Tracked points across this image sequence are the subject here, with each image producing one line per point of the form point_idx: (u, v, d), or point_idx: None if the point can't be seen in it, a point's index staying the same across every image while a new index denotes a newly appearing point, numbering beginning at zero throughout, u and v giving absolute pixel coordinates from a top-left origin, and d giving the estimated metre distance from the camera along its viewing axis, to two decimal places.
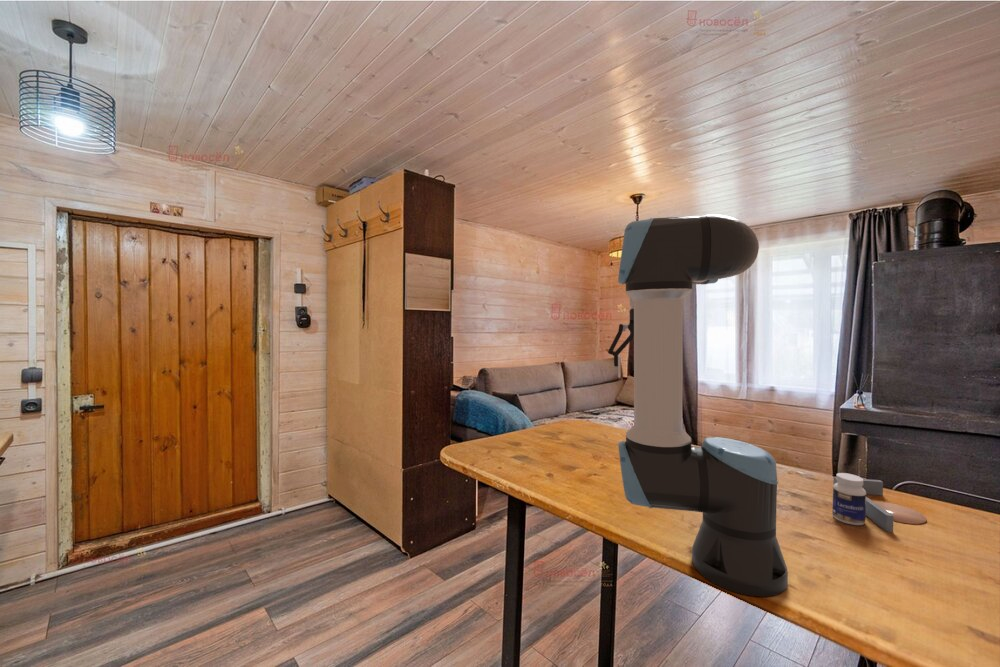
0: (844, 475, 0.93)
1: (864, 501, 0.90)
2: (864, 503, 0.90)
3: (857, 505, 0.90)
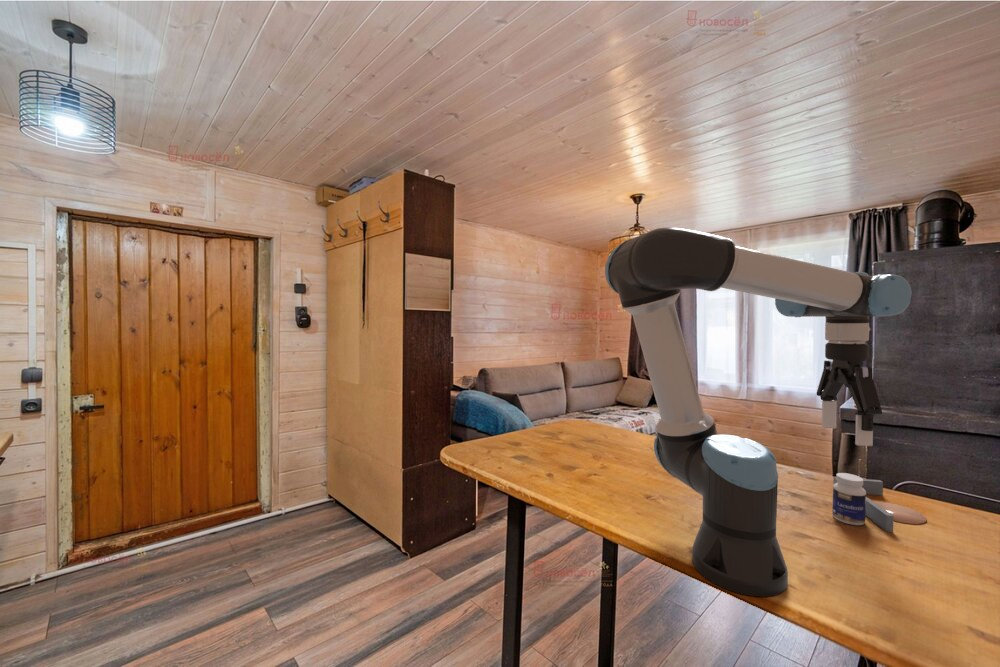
0: (844, 475, 0.93)
1: (864, 501, 0.90)
2: (864, 503, 0.90)
3: (857, 505, 0.90)
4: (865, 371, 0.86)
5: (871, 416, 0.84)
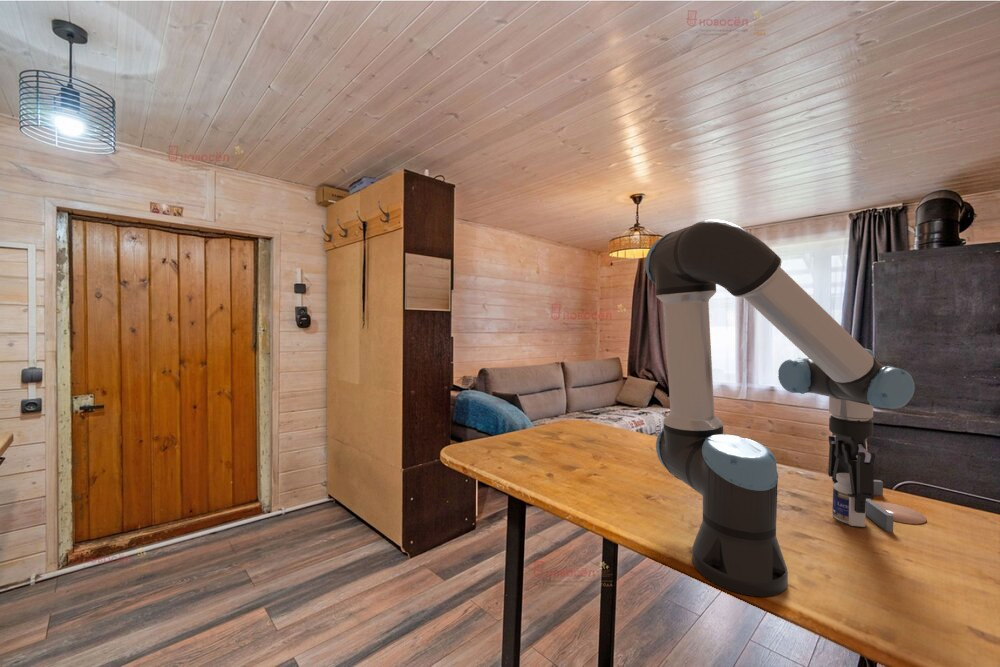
0: (844, 475, 0.93)
1: None
2: None
3: None
4: (867, 458, 0.86)
5: (863, 499, 0.88)
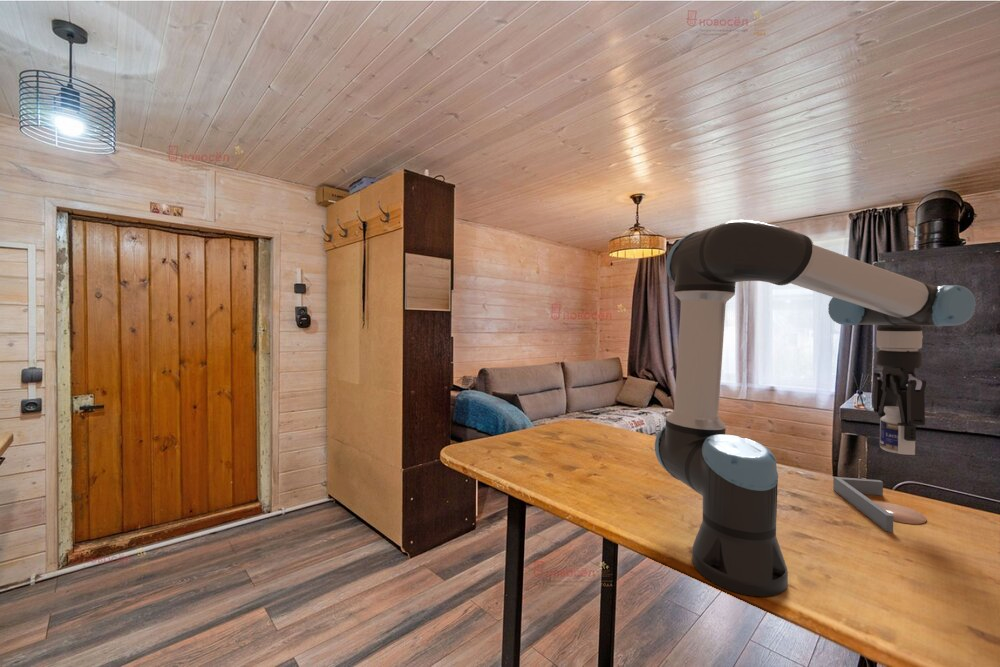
0: (892, 407, 0.95)
1: None
2: None
3: None
4: (918, 385, 0.88)
5: (914, 427, 0.90)
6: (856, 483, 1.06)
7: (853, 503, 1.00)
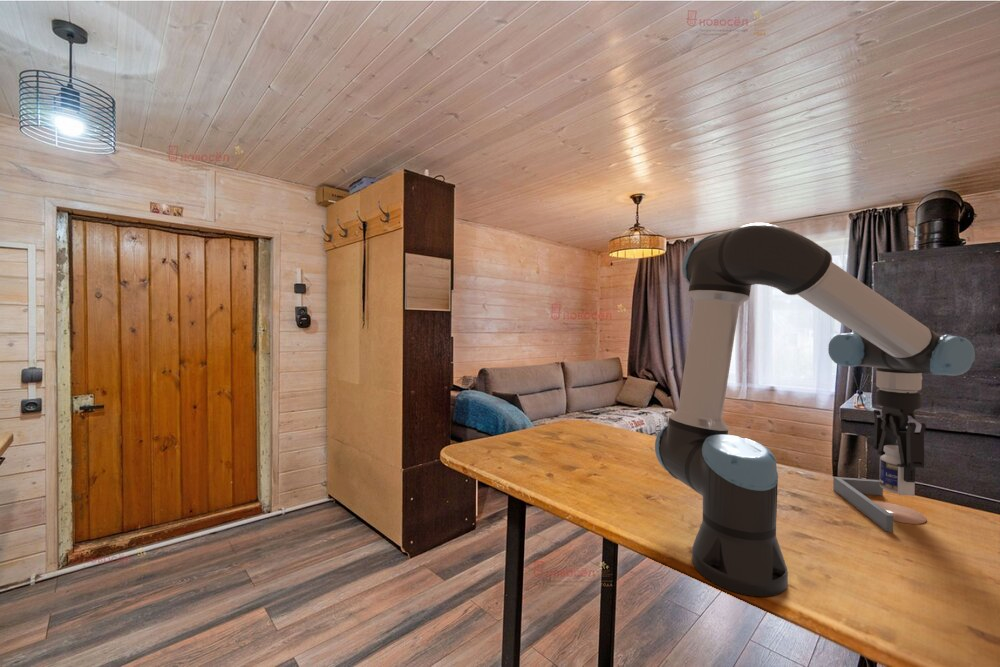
0: (891, 447, 0.96)
1: None
2: None
3: None
4: (918, 428, 0.88)
5: (913, 469, 0.90)
6: (856, 483, 1.06)
7: (853, 503, 1.00)
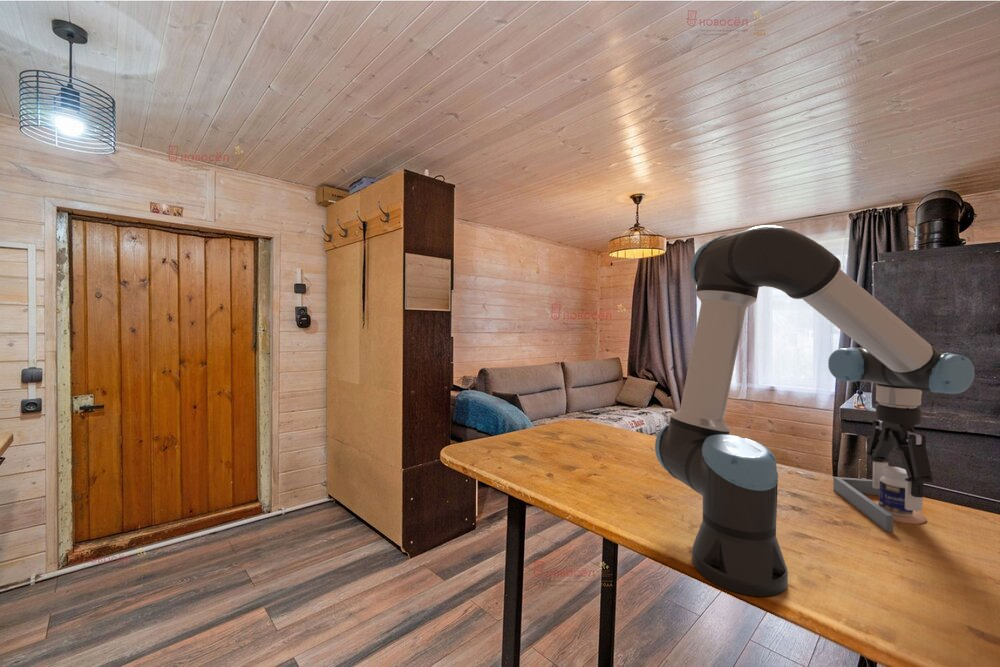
0: (891, 468, 0.96)
1: None
2: None
3: None
4: (918, 439, 0.88)
5: (921, 483, 0.88)
6: (856, 483, 1.06)
7: (853, 503, 1.00)
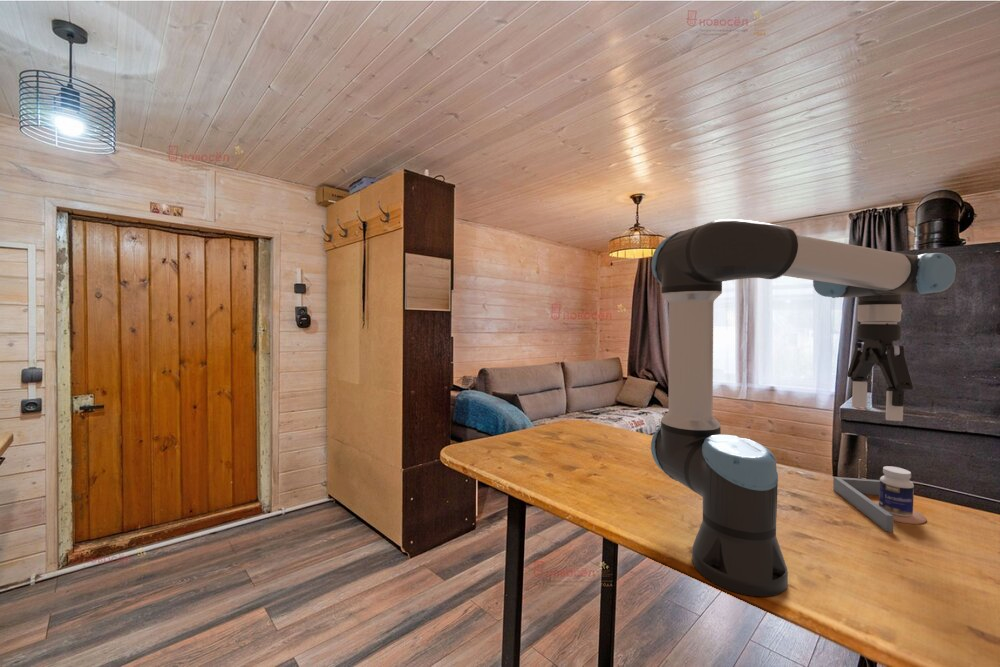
0: (891, 468, 0.96)
1: (912, 493, 0.93)
2: (912, 495, 0.93)
3: (905, 497, 0.93)
4: (896, 349, 0.90)
5: (902, 392, 0.88)
6: (856, 483, 1.06)
7: (853, 503, 1.00)
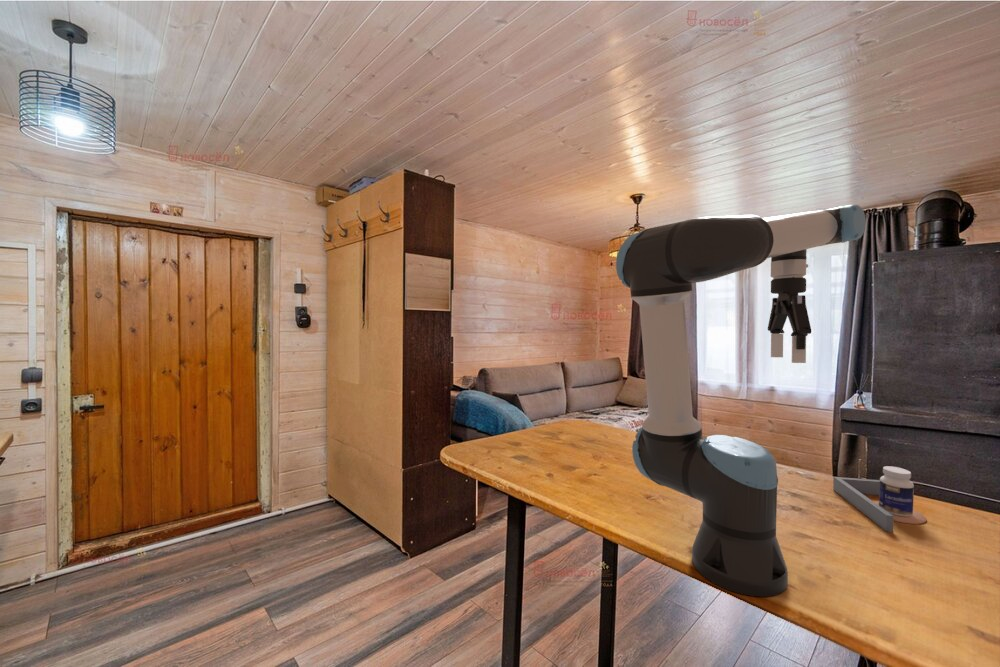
0: (891, 468, 0.96)
1: (912, 493, 0.93)
2: (912, 495, 0.93)
3: (905, 497, 0.93)
4: (799, 298, 1.00)
5: (803, 336, 0.99)
6: (856, 483, 1.06)
7: (853, 503, 1.00)
